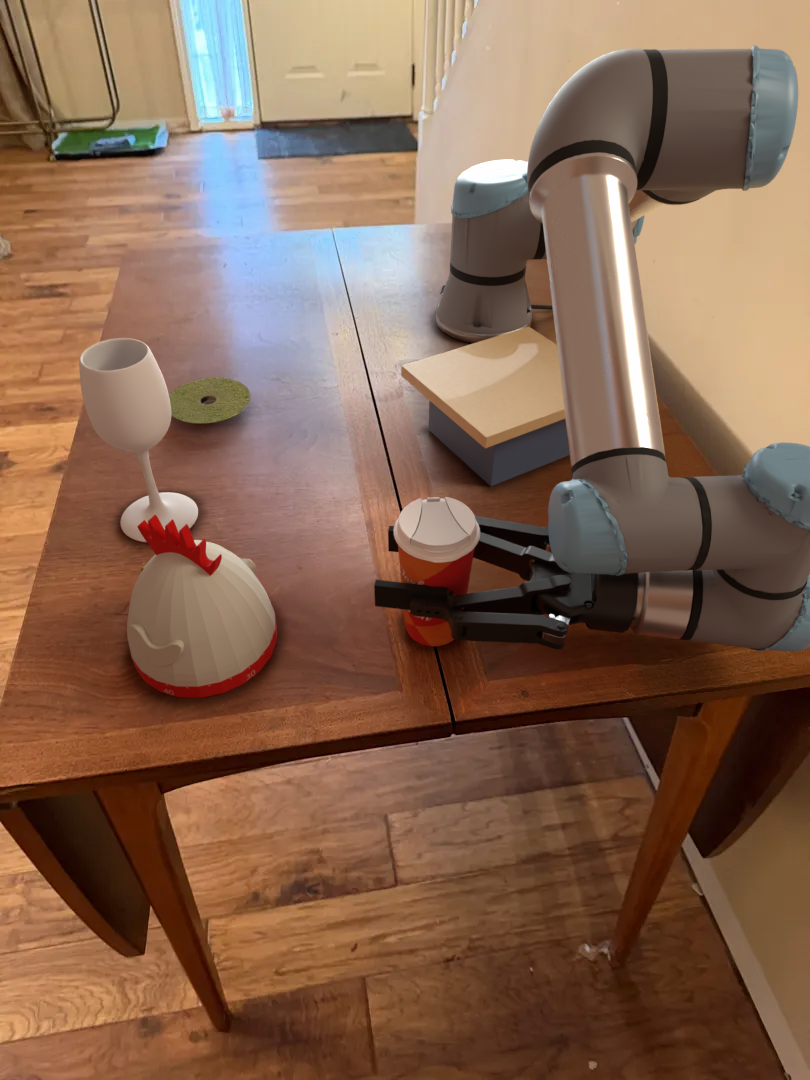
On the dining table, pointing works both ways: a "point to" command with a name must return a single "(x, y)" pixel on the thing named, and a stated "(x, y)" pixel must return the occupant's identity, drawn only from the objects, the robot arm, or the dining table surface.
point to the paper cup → (435, 556)
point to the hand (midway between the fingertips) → (382, 564)
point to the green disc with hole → (208, 400)
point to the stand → (496, 403)
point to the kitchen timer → (197, 616)
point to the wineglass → (132, 421)
